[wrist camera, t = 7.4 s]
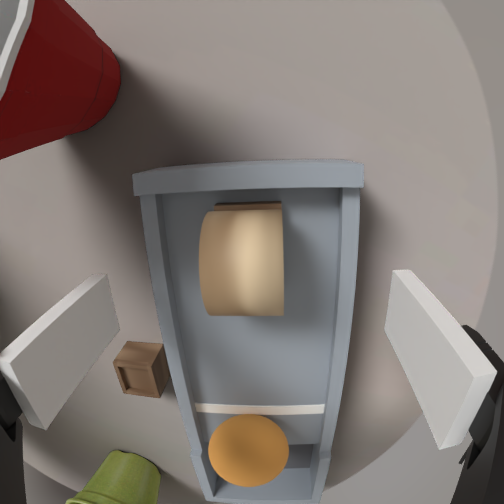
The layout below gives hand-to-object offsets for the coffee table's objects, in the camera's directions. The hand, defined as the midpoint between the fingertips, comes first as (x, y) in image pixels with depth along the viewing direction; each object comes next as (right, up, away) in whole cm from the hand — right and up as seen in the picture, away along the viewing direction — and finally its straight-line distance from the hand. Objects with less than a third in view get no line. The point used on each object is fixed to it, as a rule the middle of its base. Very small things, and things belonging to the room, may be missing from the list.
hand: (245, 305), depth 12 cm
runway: (+1, -6, +8) cm, 10 cm away
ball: (0, -10, +5) cm, 11 cm away
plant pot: (-12, -21, +15) cm, 28 cm away
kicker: (0, +2, +3) cm, 4 cm away
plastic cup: (-10, +12, +3) cm, 16 cm away
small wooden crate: (-7, -6, +9) cm, 13 cm away
